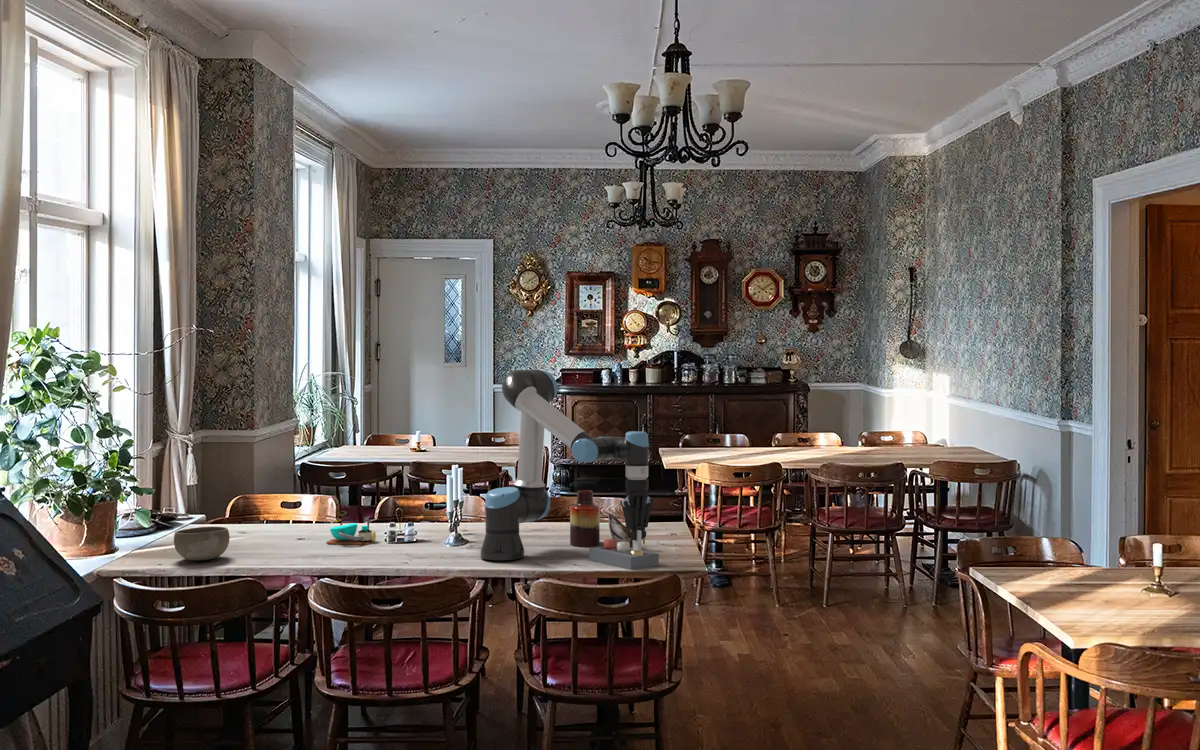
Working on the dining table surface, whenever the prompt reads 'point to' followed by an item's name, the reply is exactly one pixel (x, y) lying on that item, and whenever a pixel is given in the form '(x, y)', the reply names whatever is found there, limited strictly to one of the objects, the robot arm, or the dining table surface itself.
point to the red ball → (609, 544)
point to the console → (623, 558)
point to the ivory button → (623, 547)
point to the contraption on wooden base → (351, 534)
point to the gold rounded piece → (636, 552)
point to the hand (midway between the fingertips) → (637, 549)
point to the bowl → (201, 542)
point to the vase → (584, 521)
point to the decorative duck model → (621, 531)
